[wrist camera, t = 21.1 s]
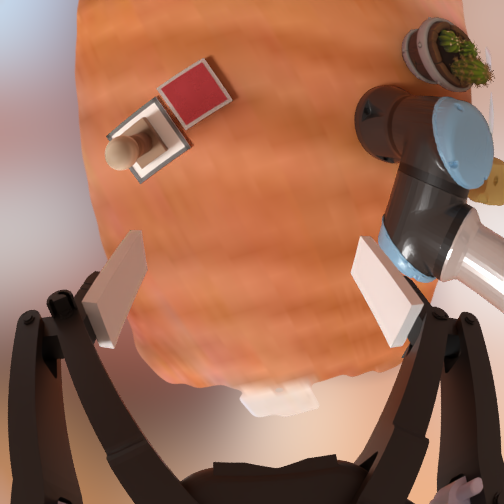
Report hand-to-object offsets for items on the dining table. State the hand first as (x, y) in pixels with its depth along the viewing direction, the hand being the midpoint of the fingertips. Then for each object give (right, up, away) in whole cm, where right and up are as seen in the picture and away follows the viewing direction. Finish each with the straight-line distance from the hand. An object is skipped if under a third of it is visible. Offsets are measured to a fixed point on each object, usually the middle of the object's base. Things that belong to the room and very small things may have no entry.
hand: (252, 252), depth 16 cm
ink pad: (-9, +26, +23) cm, 36 cm away
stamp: (-18, +19, +26) cm, 36 cm away
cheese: (+53, +20, +34) cm, 66 cm away
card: (-18, +19, +26) cm, 37 cm away
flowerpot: (+33, +39, +21) cm, 55 cm away
